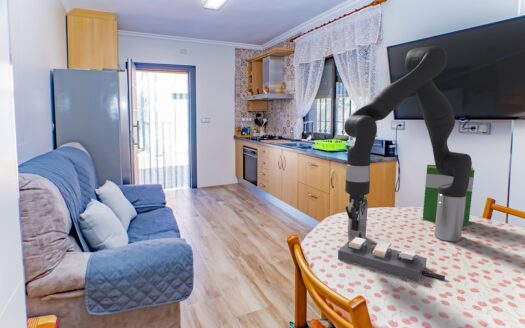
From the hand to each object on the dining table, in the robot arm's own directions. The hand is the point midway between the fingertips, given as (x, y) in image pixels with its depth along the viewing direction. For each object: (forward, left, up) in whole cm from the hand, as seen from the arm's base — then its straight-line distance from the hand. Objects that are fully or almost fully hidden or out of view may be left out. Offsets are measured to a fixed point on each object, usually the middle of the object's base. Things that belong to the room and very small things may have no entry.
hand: (355, 229), depth 109 cm
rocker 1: (-3, 0, -6) cm, 6 cm away
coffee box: (-17, -6, -11) cm, 20 cm away
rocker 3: (-3, +16, -6) cm, 17 cm away
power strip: (-3, +11, -10) cm, 15 cm away
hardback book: (-62, +18, -11) cm, 65 cm away
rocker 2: (-3, +8, -6) cm, 10 cm away
